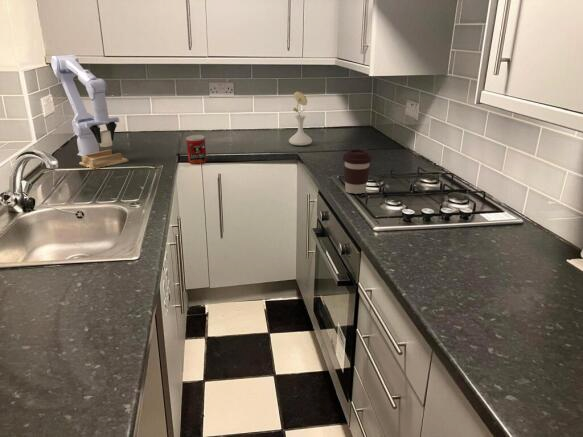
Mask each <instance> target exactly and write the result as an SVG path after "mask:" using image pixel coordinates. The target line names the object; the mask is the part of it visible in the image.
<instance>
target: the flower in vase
mask: <svg viewBox="0 0 583 437" xmlns="http://www.w3.org/2000/svg"><path fill="white" fill-rule="evenodd" d="M293 97H294V99H295V101H296V102H297V105H296V107H293V109H292V111H294V112H295V113H297V114H298V115H295V118H296V120H297V127H298V128H297V131H296V133H295V134H294V135H292V136H291V137H290V138H289V139H288V143H289V144H291V145H292V146H309V145H310V144H312V142H313V140H312V138H311V137H310V136H309V135H307V133H305V132H304V120H305V118H306V117H307V116H306V115H303V114H301V113H302V112H305V109H303V110H301V111H299V110H298V109H299V108H298V107H299V105H301V106H306V105H308V99H307V97H306V95H304V93H302V91H295V92H294V93H293Z"/></svg>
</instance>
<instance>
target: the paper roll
mask: <svg viewBox="0 0 583 437" xmlns="http://www.w3.org/2000/svg"><path fill="white" fill-rule="evenodd" d="M100 137H101V143H99V147H101V148H107V147H108V148H109V147H111V146H113V141H112V139H111V133H110V131H109V130H103V129H102V130H100Z"/></svg>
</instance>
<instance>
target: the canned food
mask: <svg viewBox="0 0 583 437" xmlns="http://www.w3.org/2000/svg"><path fill="white" fill-rule="evenodd" d="M205 137H206V136H205V135H202V134H194V135H193V134H192V135H188V136H187V137H186V146H187V148H186V150H187V157H188V163H189V164H191V165H193V166H194V165H196V166H198V165H203V164H205V163H207V150H206V149H207V148H206V138H205Z"/></svg>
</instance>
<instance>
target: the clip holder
mask: <svg viewBox="0 0 583 437" xmlns="http://www.w3.org/2000/svg"><path fill="white" fill-rule="evenodd" d="M80 157H81V161H80V162H79V165H80V166H83V167H86V168H88V167H89V168H88V169H91V168H92V169H91V170H94V171H95V170H97V169H96V168H99V169H101V168H100V167H103V168H105V166H107V167H110V165H111V166H114V165H118V164H122V163H126V162H129V159H128V158H125V157H123V156H122V153H121V152H117V153H113V152H112V149H105V150H101V151H100V150H99V152H96V153H91V154H87V155H82V156H80Z"/></svg>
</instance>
